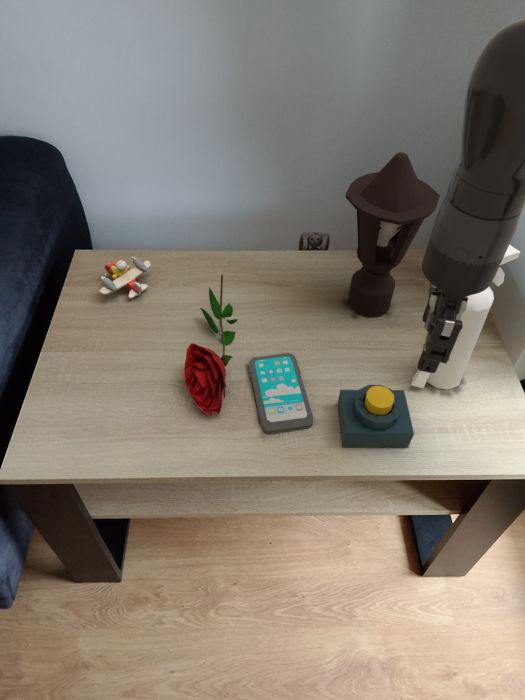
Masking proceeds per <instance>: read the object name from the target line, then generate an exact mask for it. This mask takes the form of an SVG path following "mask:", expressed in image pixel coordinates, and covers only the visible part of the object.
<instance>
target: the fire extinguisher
mask: <svg viewBox="0 0 525 700" xmlns="http://www.w3.org/2000/svg"><path fill="white" fill-rule="evenodd" d="M520 254H521V251H520V250H518V248H515V247H514V246H513V245H511V244H510V245H509V247H508V249H507V251H506V253H505V255H504V258H503V260H502V262H501V264H500V266H502V265H504V264H506V263H509V262H511V261H514V260H516V259H518V258H519V256H520ZM500 266H499V268H498V270H497V273H496V275H495V277H494V279H493V281H492V284H494V285H495V286H496V287H500V286H501V285H503V283H504V282H505V275H506V274H505V272H504V270H503V268H502V267H500ZM467 297H468V302H467V306H466V310H465V311H464V312H463V313H462V315H461V319H460V321H462V324H463V327H462V329H461V330H460V333H459V335H458V337H457V340H456V342H455V345H454V347H453V349H452V352H451V354H450V356H449V360H448V361H447V363H446V364H445V363H441V362H440V363H439V366H438V368H437V370H436V372H435V373H428V372H424V371H420V370H417V372H416V373H415V374H414V375H413V377H412V379H411V380H412V381H411V386H412V387H416V388H420V389H424V388H425V386H426V383H428V384H429V385H431V386H433V387H434V388H435V389H440V390H441V389H442V390H446V391H447V390H448V391H450V390H452V389H454V388H457V387H459V386H460V384H461V382H462V379H463V376H464V375H465V371H466V369H467V367H468V364H469V362H470V359H471V356H472V354H473V352H474V350H475V347H476V344H477V342H478V339H479V337H480V336H481V335H480V334H481V333H482V330H483V327H484V325H485V322H486V319H487V318H488V315H489V313H490V310H491V308H492V305H493V302H494V300H495V296H494V291H493V289H492V288H491V287H490V286H489V287H488V288H487V289H486V290H484V291H482V292H480V293H477V294H474V295H470V296H467Z"/></svg>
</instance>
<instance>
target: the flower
mask: <svg viewBox="0 0 525 700" xmlns="http://www.w3.org/2000/svg"><path fill="white" fill-rule="evenodd" d="M223 284H224V274H221V275H220V296H219V301H218V299H217V298H216V295H215V294H214V292H213V290H212V289H211V287H210V286H208V299H209V304H210V308H211V311H212V314H213V317H214V318H215V319H217V320H218V326H217V324H216V323H215V321H214V319H213V317H212V316H211V314H210V313H209V312H208V311H207V310H206V309H204V308H202V307H200V310H201V312H202V314H203V317H204V318H205V320H206V323H207V324H208V327H209V328H210V330H211V331H212V332H213V333H215V335H218V334H219V335H220V338H221V342H222V355H221V357H220V356H219V354H217V353H216V352H215V351H214V350H212V349H210V348H209V347H208V348H207V347H204V346H201V345H198V344H196V343H193V342H191V343H190V344H189V346H188V347H187V349H186V354H185V361H184V368H183V376H184V383H185V386H186V387H187V388H188V389H187V391H188V393H189V395H190V397H191V398H192V401H194V404H195V406H196V407H198V408H199V410H201V412H203V413H204V414H205V415H207V416H208V417H212V415H213V414H214V413H216V414H217V415H220V414H221V410H222V405H223V403H222V401H223V400H222V399H223V398H224V399H225V398H226V388H227V382H226V378H227V377H226V376H227V372H226V367H227V366H228V364H229V362H230V360H231V359H233V356H232V355H228V354H226V345H227V346H229V345H230V344H231V343H233V342H234V340H235V337H236V331H230V330H225V331H224V328H223V327H224V326H223V320H226V322H227V323H228V324H229V325H233V324H235V323H236V322H238V320H239V318H234V319H233V318H232V319H226V318H231V317H232V316H233V314H234V308H233V306H232V305H231V304H230V302H229V303H227V305H226V306H225V307H224V309H223V289H224V287H223Z"/></svg>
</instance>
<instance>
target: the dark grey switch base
mask: <svg viewBox="0 0 525 700" xmlns="http://www.w3.org/2000/svg"><path fill="white" fill-rule="evenodd" d="M373 386H383V387H386V388H388V389H389V390H390V391H391V392H392V393H393V395H394V402H393V405H392V408H391V411H390V412H389V413H388V414H386V415H383V416H377V415H374V414H371V413H370V412H369V411H368V410H367V409H366V407H365V404H364V401H365V398H366V394H367V391H368V390H369V389H370V388H371V387H373ZM406 396H407V395H406V393H405V390H404V389H392V388H389V387H387V386H384V385H382V384H367V385H365V386H363V387H361V388H360V389H340V390H339V394H338V399H337V403H336V407H337V413H338V414H337V415H338V422H339V423H338V424H339V431H340V439H341V447H342V448H347V449H348V448H349V449H350V448H352V449H353V448H367V449H369V448H372V449H373V448H377V449H379V448H380V449H381V448H383V449H384V448H385V449H394V448H395V449H408V448H409V447H410V445H411V442H412V440H413V437H414V435H415V431H414V427H413V423H412V419H411V414H410V410H409V405H408V401H407V397H406Z"/></svg>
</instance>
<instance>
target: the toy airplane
mask: <svg viewBox="0 0 525 700" xmlns="http://www.w3.org/2000/svg"><path fill="white" fill-rule="evenodd" d="M131 261H132V263H133V265H134V266H135V267H133V268H131V266H130V265H128V264H127V262H126V261H125V260H122V259H121V260H117V261H110V262H107V264H105V265H104V269H105V271H106V272H104V275H102V276H100V279H101V283H100V286H102V285H104V286H102V287H101V288H100V289H99V294H100V295H102V296H108V295H111V294H112V293H114V292H118V290H121V289H123V288H126V289H127V290H129V292H128V299H129V300H133V299H134V298H135V297H139V296H141V294H142V293H143V292H145V291H146V290H147V289H148V287H149V285H148V284H146V283H142V284H141V283H139V282H138V281H137V280H136V279H138V278H139V277H140V276H141V275H143V274H144V273H146V272H148V270H149V269H150V268H151V261H150V260H144V261H142V260H141V259H139V258H138V257H135V256H131ZM107 275H109V276H110V277H107Z"/></svg>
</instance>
